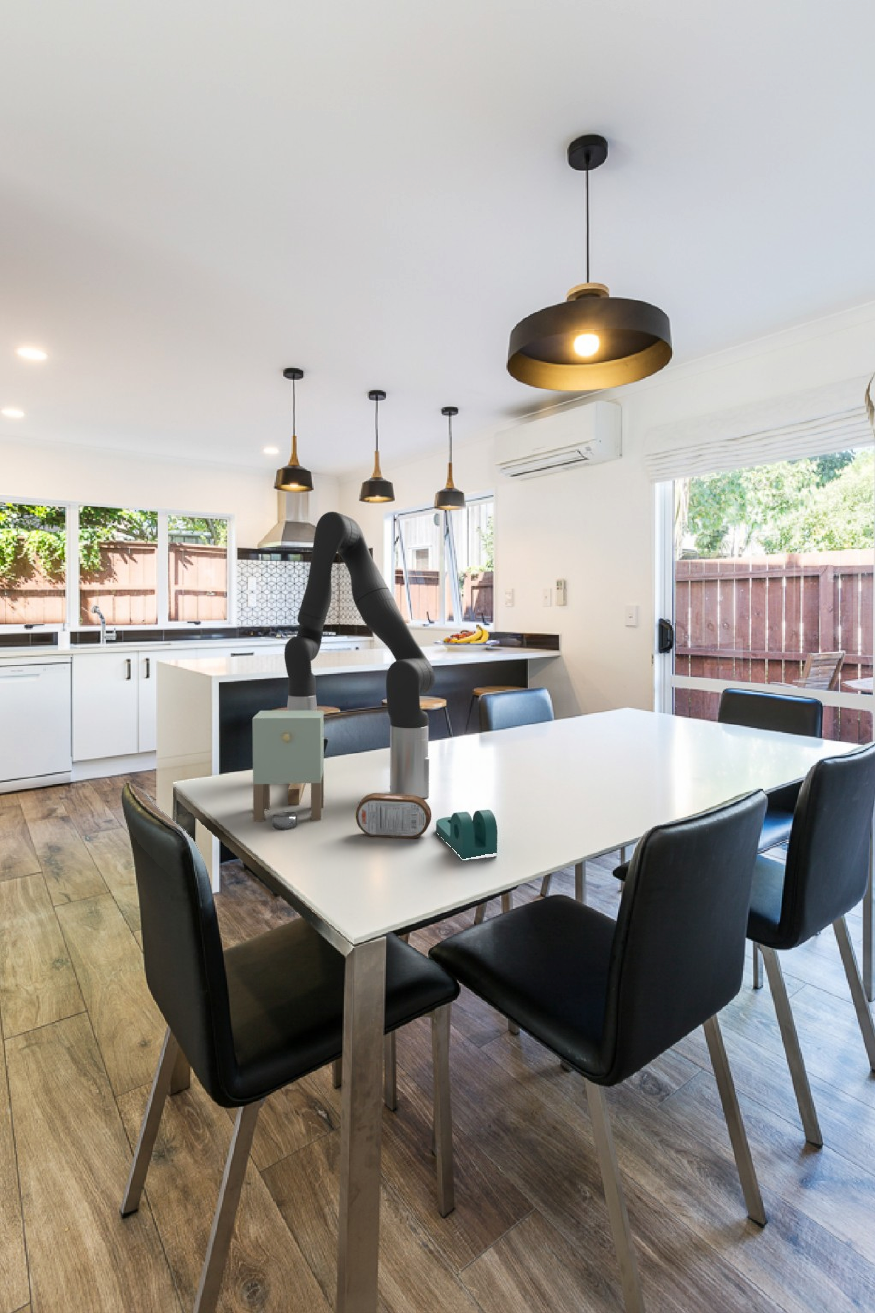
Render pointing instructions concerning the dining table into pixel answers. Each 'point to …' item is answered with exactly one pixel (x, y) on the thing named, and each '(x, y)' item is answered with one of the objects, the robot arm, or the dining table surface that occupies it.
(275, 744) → the cabinet
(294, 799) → the oak slat
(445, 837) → the bracket
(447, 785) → the dining table surface
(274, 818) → the steel token
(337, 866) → the dining table surface
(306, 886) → the dining table surface
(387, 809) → the tin
